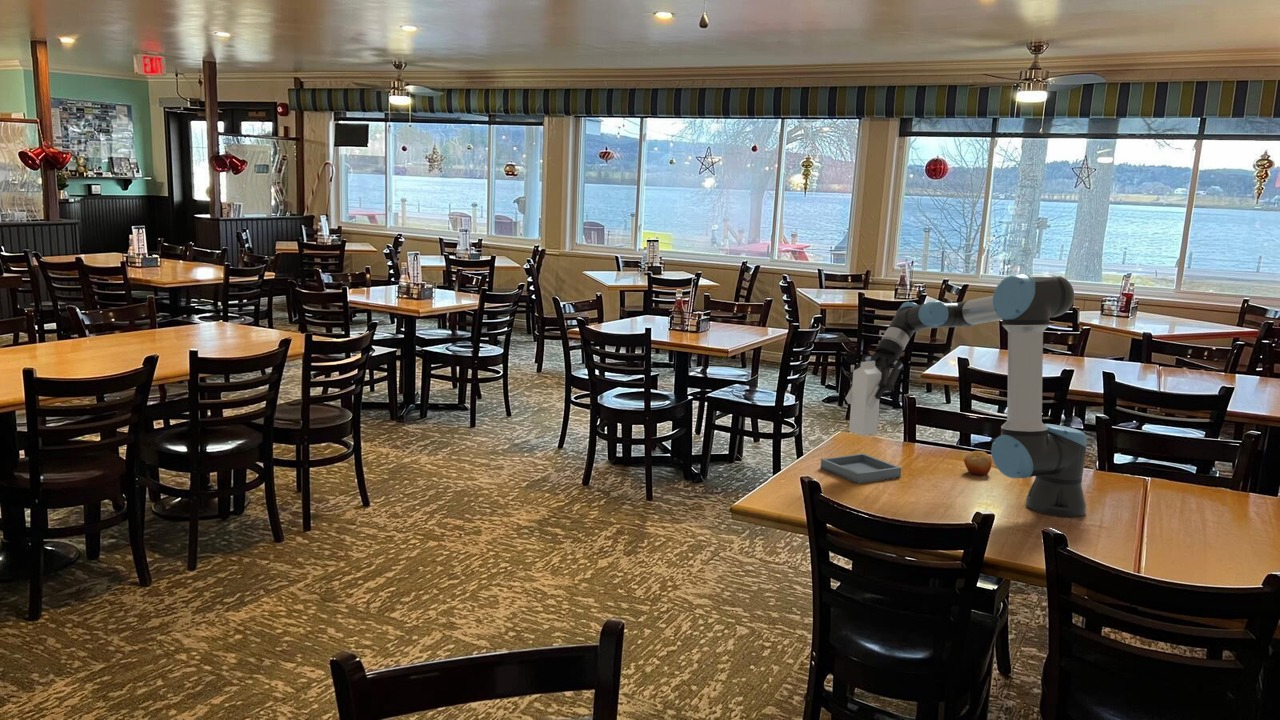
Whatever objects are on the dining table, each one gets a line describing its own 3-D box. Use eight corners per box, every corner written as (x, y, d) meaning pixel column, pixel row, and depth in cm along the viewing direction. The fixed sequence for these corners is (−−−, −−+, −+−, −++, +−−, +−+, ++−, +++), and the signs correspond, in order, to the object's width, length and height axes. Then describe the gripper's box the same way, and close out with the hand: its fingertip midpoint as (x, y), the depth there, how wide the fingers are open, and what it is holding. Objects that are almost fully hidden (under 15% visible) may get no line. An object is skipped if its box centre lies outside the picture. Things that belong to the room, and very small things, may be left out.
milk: (848, 431, 286) (853, 360, 282) (863, 429, 289) (867, 359, 286) (863, 435, 281) (867, 363, 277) (877, 433, 284) (882, 362, 280)
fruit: (995, 467, 293) (994, 448, 288) (988, 484, 288) (988, 466, 283) (968, 462, 297) (967, 444, 293) (962, 479, 292) (960, 461, 288)
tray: (900, 477, 284) (901, 467, 283) (857, 483, 276) (858, 474, 275) (862, 462, 299) (863, 453, 298) (820, 468, 291) (821, 459, 290)
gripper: (924, 357, 285) (891, 417, 276) (868, 348, 299) (835, 404, 290) (917, 342, 280) (883, 402, 272) (860, 333, 294) (826, 390, 286)
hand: (858, 403), depth 281 cm, fingers closed on milk, 7 cm apart
